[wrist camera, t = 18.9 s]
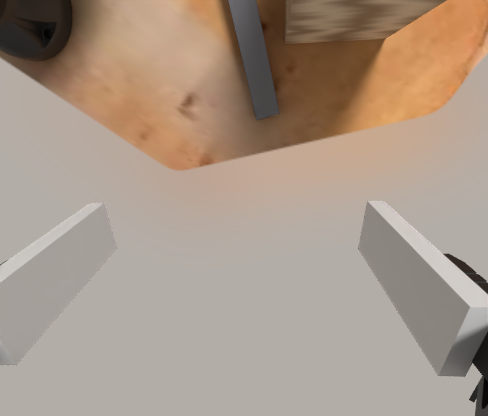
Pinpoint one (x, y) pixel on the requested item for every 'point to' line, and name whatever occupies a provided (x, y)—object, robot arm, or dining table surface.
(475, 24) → the dining table surface
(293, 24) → the tall wooden block
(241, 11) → the bar
